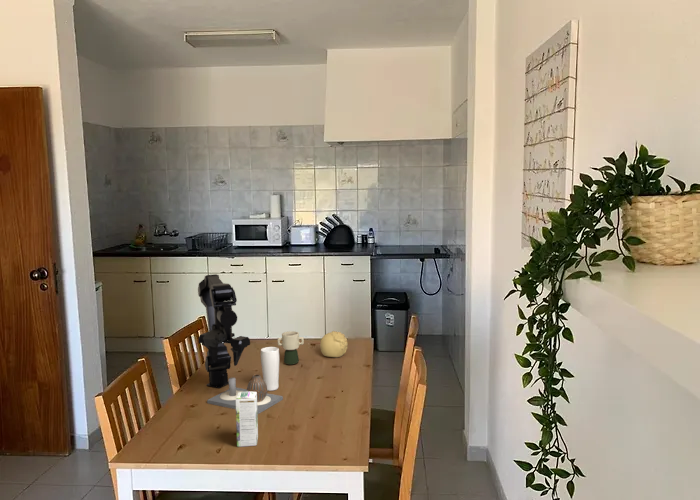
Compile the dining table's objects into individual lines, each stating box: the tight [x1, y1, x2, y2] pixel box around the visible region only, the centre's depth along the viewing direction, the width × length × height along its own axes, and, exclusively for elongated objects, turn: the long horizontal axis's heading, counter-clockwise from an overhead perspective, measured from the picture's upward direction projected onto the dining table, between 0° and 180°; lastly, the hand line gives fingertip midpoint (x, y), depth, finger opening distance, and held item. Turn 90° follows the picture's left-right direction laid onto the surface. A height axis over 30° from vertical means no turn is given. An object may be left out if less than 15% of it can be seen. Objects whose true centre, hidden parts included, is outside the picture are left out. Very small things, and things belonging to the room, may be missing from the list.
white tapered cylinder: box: [260, 346, 280, 392], centre depth 211 cm, size 7×7×15 cm
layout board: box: [206, 377, 284, 415], centre depth 200 cm, size 22×14×7 cm, turn 62°
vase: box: [246, 373, 268, 402], centre depth 197 cm, size 7×7×9 cm
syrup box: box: [235, 391, 259, 448], centre depth 167 cm, size 6×6×14 cm
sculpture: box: [319, 330, 349, 358], centre depth 250 cm, size 12×12×11 cm
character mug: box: [277, 330, 305, 365], centre depth 240 cm, size 11×7×13 cm, turn 95°
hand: (225, 363), depth 201 cm, fingers open, 9 cm apart
